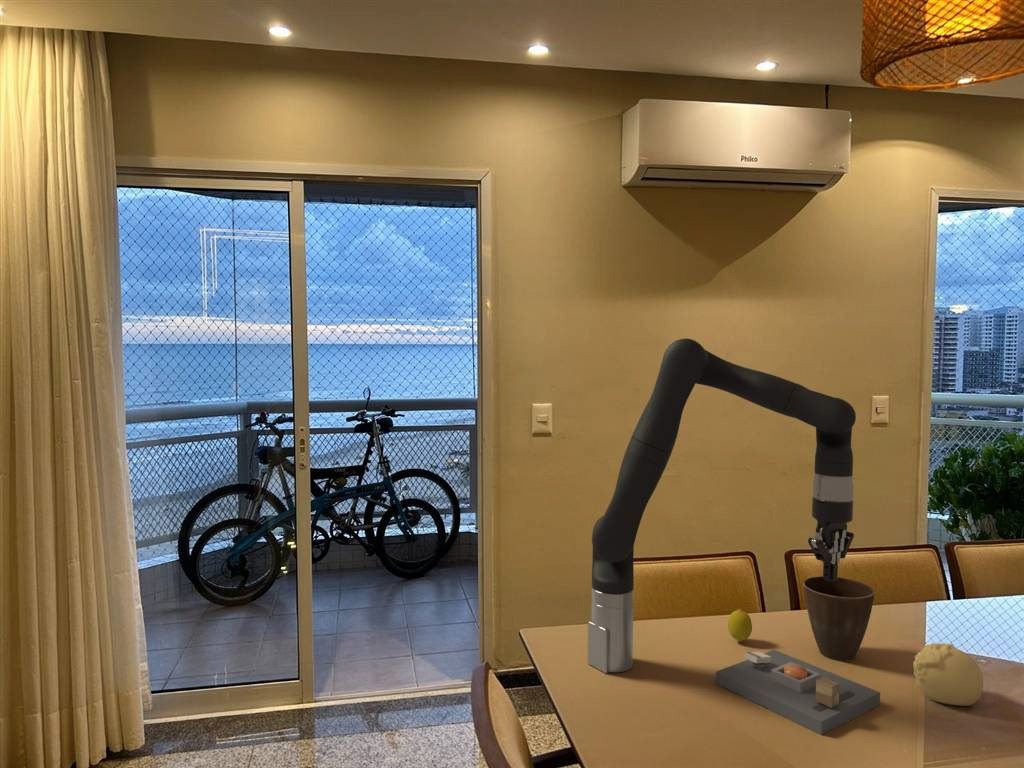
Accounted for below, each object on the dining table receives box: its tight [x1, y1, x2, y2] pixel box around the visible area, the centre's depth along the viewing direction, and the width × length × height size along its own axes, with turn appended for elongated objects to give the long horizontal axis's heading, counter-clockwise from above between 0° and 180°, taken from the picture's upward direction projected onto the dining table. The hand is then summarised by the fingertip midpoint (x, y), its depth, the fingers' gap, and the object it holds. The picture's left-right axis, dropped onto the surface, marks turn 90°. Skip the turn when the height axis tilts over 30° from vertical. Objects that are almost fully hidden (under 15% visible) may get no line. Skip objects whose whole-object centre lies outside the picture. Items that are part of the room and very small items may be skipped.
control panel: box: [715, 649, 881, 736], centre depth 141 cm, size 20×24×4 cm
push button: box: [784, 665, 807, 680], centre depth 141 cm, size 4×4×2 cm
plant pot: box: [802, 575, 876, 662], centre depth 159 cm, size 15×15×16 cm
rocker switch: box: [744, 651, 771, 663], centre depth 148 cm, size 5×3×1 cm, turn 124°
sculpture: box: [912, 642, 984, 707], centre depth 139 cm, size 12×12×11 cm
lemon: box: [727, 608, 753, 643], centre depth 166 cm, size 6×6×8 cm
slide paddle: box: [816, 677, 839, 708], centre depth 131 cm, size 2×3×4 cm
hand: (830, 580), depth 140 cm, fingers closed
